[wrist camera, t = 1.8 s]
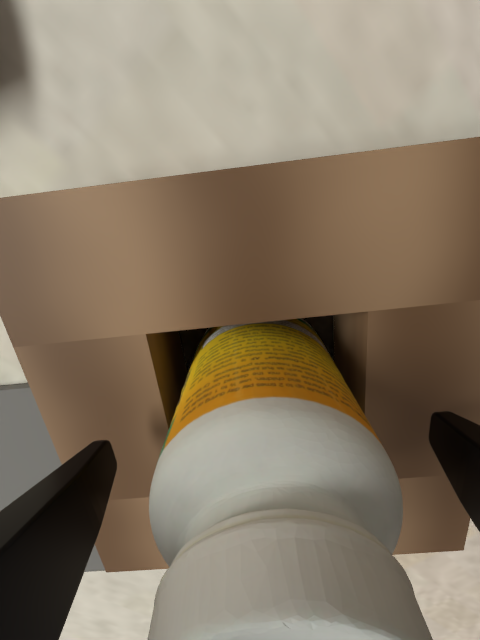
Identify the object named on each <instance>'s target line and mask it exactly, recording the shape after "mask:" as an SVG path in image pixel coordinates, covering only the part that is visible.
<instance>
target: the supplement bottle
mask: <svg viewBox="0 0 480 640" xmlns="http://www.w3.org/2000/svg"><path fill="white" fill-rule="evenodd" d="M149 517H150V524H151V529H152V533H153V536H154V539H155V542H156V545H157V547H158V550H159V551H160V553H161V555H162V557H163V559H164V560H165V562H166V563H167V565H168V566H169V568H168V570H167V571H166V572H165V574H164V576H163V577H162V579H161V581H160V584H159V586H158V589H157V592H156V597H155V601H154V610H153V615H152V620H151V625H150V630H149V635H148V640H433V639H432V637H431V634H430V632H429V629H428V627H427V625H426V622H425V620H424V618H423V615H422V613H421V610H420V608H419V605H418V603H417V601H416V598H415V595H414V591H413V587H412V584H411V582H410V580H409V578H408V576H407V574H406V572H405V570H404V569H403V567H402V566H401V565H400V563H399V562H398V561H397V560H396V558H395V557H393V556H392V553H393V552H394V549H395V547H396V545H397V542H398V539H399V536H400V532H401V527H402V520H403V500H402V492H401V487H400V483H399V480H398V477H397V474H396V471H395V469H394V466H393V464H392V462H391V460H390V458H389V456H388V455H387V453H386V451H385V449H384V447H383V446H382V444H381V442H380V440H379V439H378V437H377V435H376V434H375V432H374V430H373V428H372V427H371V425H370V423H369V422H368V420H367V418H366V417H365V415H364V413H363V411H362V410H361V408H360V406H359V405H358V403H357V401H356V399H355V398H354V396H353V394H352V393H351V391H350V389H349V388H348V386H347V384H346V383H345V381H344V379H343V377H342V375H341V373H340V372H339V370H338V368H337V367H336V365H335V363H334V361H333V360H332V358H331V356H330V354H329V353H328V351H327V349H326V347H325V346H324V344H323V342H322V340H321V339H320V337H319V336H318V334H317V333H316V331H315V330H314V329H313V328H312V326H310V325H309V324H308V323H307V322H306V321H305V320H303V319H302V318H298V319H288V320H278V321H268V322H259V323H249V324H239V325H229V326H219V327H209V328H208V329H207V331H206V332H205V334H204V335H203V337H202V339H201V341H200V342H199V345H198V347H197V350H196V352H195V355H194V358H193V360H192V364H191V367H190V370H189V372H188V375H187V378H186V381H185V384H184V386H183V389H182V392H181V396H180V400H179V402H178V404H177V407H176V410H175V414H174V417H173V419H172V422H171V425H170V428H169V430H168V433H167V436H166V439H165V442H164V444H163V447H162V450H161V453H160V456H159V459H158V462H157V465H156V469H155V472H154V475H153V479H152V483H151V488H150V496H149Z"/></svg>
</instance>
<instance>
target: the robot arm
mask: <svg viewBox="0 0 480 640" xmlns="http://www.w3.org/2000/svg"><path fill="white" fill-rule="evenodd" d="M429 442H430V445H431V447H432V449H433V451H434V453H435V455H436V457H437V459H438V461H439V463H440V464H441V466H442V468H443V470H444V472H445V474H446V476H447V478H448V480H449V482H450V484H451V486H452V487H453V489H454V491H455V493H456V495H457V497H458V499H459V500H460V502H461V504H462V505H463V507H464V508H465V510H466V512H467V513H468V515H469V516H470V518H471V519H472V521H473V523H474V524H475V526H476V527H477V529H478V530H479V532H480V425H478V424H476V423H474V422H472V421H470V420H468V419H465V418H463V417H461V416H459V415H457V414H455V413H453V412H450V411H440V412H434V413H432V415H431V420H430V428H429ZM116 471H117V460H116V457H115V454H114V451H113V448H112V445H111V443H110V441H109V440H97V441H93V442H92V443H90V444H89V445H88V446H86V447H85V448H84V449H82V450H81V451H80V452H78V453H77V454H76V455H74V456H73V457H72V458H70V459H69V460H68V461H66V462H65V463H64V464H62V465H61V466H60V467H58V468H57V469H56V470H54V471H53V472H52V473H50V474H49V475H48V476H46V477H45V478H44V479H42V480H41V481H40V482H38V483H37V484H36V485H34V486H33V487H32V488H30V489H29V490H28V491H26V492H25V493H24V494H22V495H21V496H20V497H18V498H17V499H16V500H14V501H13V502H12V503H10V504H9V505H8V506H6V507H5V508H4V509H2V510H1V511H0V640H59V637H60V635H61V632H62V629H63V627H64V624H65V621H66V619H67V616H68V613H69V611H70V608H71V605H72V603H73V600H74V597H75V595H76V592H77V590H78V587H79V584H80V582H81V579H82V576H83V574H84V571H85V568H86V566H87V563H88V560H89V558H90V555H91V552H92V550H93V547H94V545H95V542H96V539H97V537H98V534H99V531H100V528H101V525H102V522H103V518H104V515H105V511H106V508H107V504H108V500H109V497H110V493H111V489H112V486H113V482H114V478H115V475H116Z"/></svg>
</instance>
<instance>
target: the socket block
mask: <svg viewBox="0 0 480 640" xmlns="http://www.w3.org/2000/svg"><path fill="white" fill-rule="evenodd" d="M328 315H333V319H334V363H335V365H336V367H337V368H338V370H339V372H340V373H341V375H342V377H343V379H344V381H345V383H346V384H347V386H348V388H349V389H350V391H351V393H352V394H353V396H354V398H355V399H356V401H357V403H358V405H359V406H360V408H361V410H362V411H363V413H364V415H365V417H366V418H367V420H368V422H369V423H370V425H371V427H372V428H373V430H374V432H375V434H376V435H377V437H378V439H379V440H380V442H381V444H382V446H383V447H384V449H385V451H386V453H387V455H388V456H389V458H390V460H391V462H392V464H393V466H394V469H395V471H396V474H397V477H398V480H399V483H400V487H401V492H402V500H403V520H402V527H401V532H400V536H399V539H398V542H397V545H396V547H395V549H394V552H393V553H392V555H395V554H411V553H427V552H443V551H460V550H464V545H465V541H466V536H467V531H468V527H469V522H470V516H469V515H468V513H467V512H466V510H465V508H464V507H463V505H462V504H461V502H460V500H459V499H458V497H457V495H456V493H455V491H454V489H453V487H452V486H451V484H450V482H449V480H448V478H447V476H446V474H445V472H444V470H443V468H442V466H441V464H440V463H439V461H438V459H437V457H436V455H435V453H434V451H433V449H432V447H431V445H430V442H429V428H430V420H431V415H432V413H434V412H440V411H450V412H453V413H455V414H457V415H459V416H461V417H463V418H465V419H468V420H470V421H472V422H474V423H476V424H478V425H480V137H475V138H467V139H459V140H451V141H443V142H435V143H428V144H420V145H412V146H404V147H396V148H388V149H380V150H373V151H365V152H357V153H349V154H341V155H333V156H325V157H318V158H310V159H302V160H294V161H286V162H278V163H271V164H263V165H255V166H247V167H239V168H231V169H223V170H216V171H208V172H200V173H192V174H184V175H176V176H168V177H161V178H153V179H145V180H137V181H129V182H121V183H114V184H106V185H98V186H90V187H82V188H74V189H66V190H59V191H51V192H43V193H35V194H27V195H19V196H11V197H4V198H0V316H1V318H2V321H3V323H4V326H5V328H6V330H7V333H8V335H9V338H10V340H11V343H12V345H13V347H14V350H15V352H16V355H17V357H18V360H19V362H20V364H21V367H22V369H23V372H24V374H25V377H26V379H27V381H28V384H29V386H30V389H31V391H32V393H33V396H34V398H35V401H36V403H37V406H38V408H39V410H40V413H41V415H42V418H43V420H44V423H45V425H46V427H47V430H48V432H49V435H50V437H51V440H52V442H53V444H54V447H55V449H56V452H57V454H58V457H59V459H60V461H61V464H64V463H65V462H66V461H68V460H69V459H70V458H72V457H73V456H74V455H76V454H77V453H78V452H80V451H81V450H82V449H84V448H85V447H86V446H88V445H89V444H90V443H92V442H93V441H97V440H109V441H110V443H111V445H112V448H113V451H114V454H115V457H116V460H117V471H116V475H115V478H114V482H113V486H112V489H111V493H110V497H109V500H108V504H107V508H106V511H105V515H104V518H103V522H102V525H101V528H100V531H99V534H98V537H97V539H96V542H95V546H96V549H97V551H98V554H99V556H100V558H101V561H102V563H103V566H104V568H105V571H106V572H119V571H136V570H152V569H168V568H169V566H168V565H167V563H166V562H165V560H164V559H163V557H162V555H161V553H160V551H159V550H158V547H157V545H156V542H155V539H154V536H153V533H152V529H151V524H150V517H149V496H150V488H151V483H152V479H153V475H154V472H155V469H156V465H157V462H158V459H159V456H160V453H161V450H162V447H163V444H164V442H165V439H166V436H167V433H168V430H169V428H170V425H171V422H172V419H173V417H174V414H175V410H176V407H177V404H178V402H179V400H180V396H181V392H182V389H183V386H184V384H185V381H186V378H187V375H188V374H187V369H186V364H185V359H184V354H183V348H182V343H181V338H180V333H179V331H180V330H190V329H199V328H209V327H219V326H229V325H239V324H249V323H259V322H268V321H278V320H288V319H298V318H308V317H318V316H328Z"/></svg>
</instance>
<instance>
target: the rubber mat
mask: <svg viewBox="0 0 480 640" xmlns="http://www.w3.org/2000/svg"><path fill="white" fill-rule="evenodd" d="M61 465H62V464H61V461H60V459H59V457H58V454H57V452H56V449H55V447H54V444H53V442H52V440H51V437H50V435H49V432H48V430H47V427H46V425H45V423H44V420H43V418H42V415H41V413H40V410H39V408H38V406H37V403H36V401H35V398H34V396H33V393H32V391H31V389H30V386H29V384H28V383H25V384H15V385H4V386H0V511H1V510H2V509H4V508H5V507H6V506H8V505H9V504H10V503H12V502H13V501H14V500H16V499H17V498H18V497H20V496H21V495H22V494H24V493H25V492H26V491H28V490H29V489H30V488H32V487H33V486H34V485H36V484H37V483H38V482H40V481H41V480H42V479H44V478H45V477H46V476H48V475H49V474H50V473H52V472H53V471H54V470H56V469H57V468H58V467H60V466H61ZM89 571H105V568H104V566H103V563H102V561H101V558H100V556H99V554H98V551H97V549H96V546H95V545H94V547H93V550H92V552H91V555H90V558H89V560H88V563H87V566H86V568H85V571H84V572H89Z"/></svg>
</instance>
